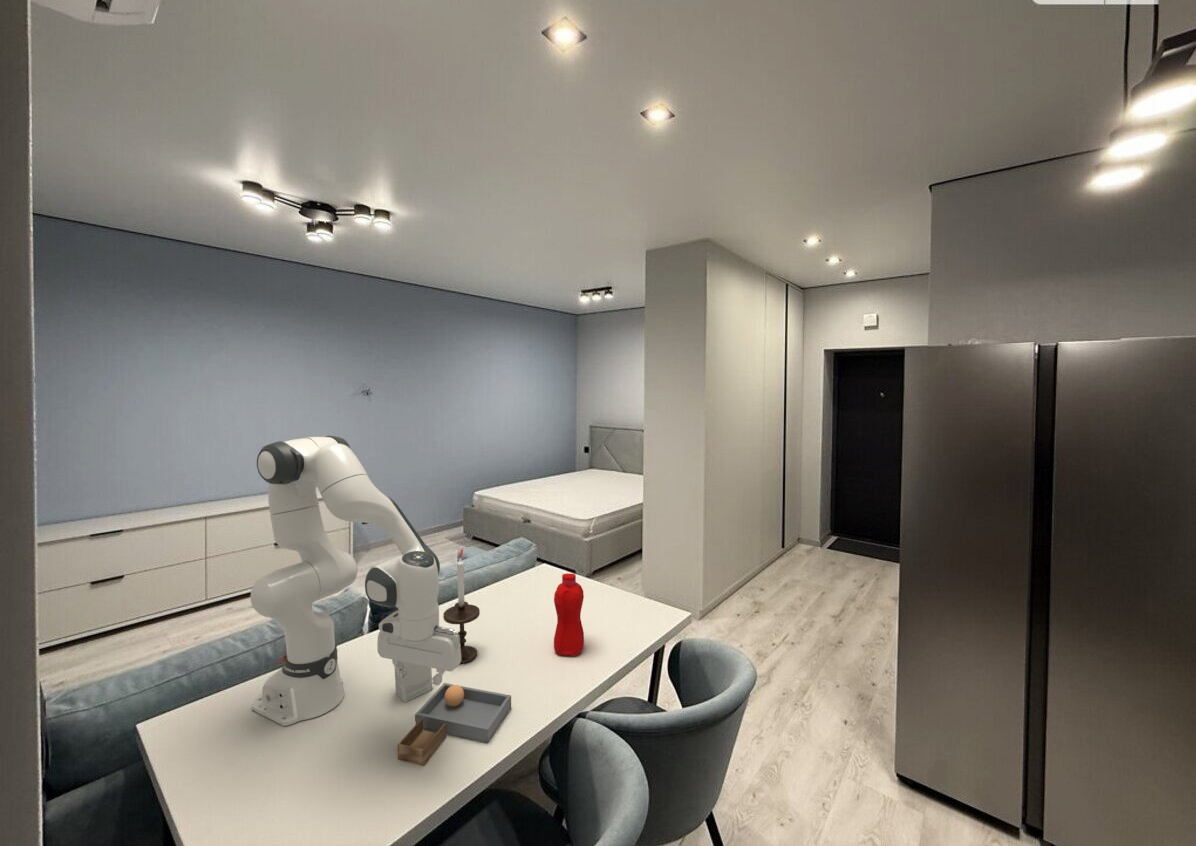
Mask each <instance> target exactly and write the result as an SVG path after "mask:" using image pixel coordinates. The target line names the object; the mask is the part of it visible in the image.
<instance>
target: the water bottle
mask: <svg viewBox="0 0 1196 846" xmlns="http://www.w3.org/2000/svg"><path fill="white" fill-rule="evenodd" d="M576 577H577V576H576V574H575V573H567V572H566V573H563V574H562V575H561V579H562V580H561V581H562V582H561V583H560V584H558V585H557V587H556V590H555V591H554V596H553V597H554V598H553V602H554V603H553V604H554V608H555V612H556V616H557V617H556V619H557V622H556V623H557V624H556V628H555V631H554V637H553V649H554V652H555V654H557V655H558V656H572V657H576V656H577V655H580V654H581V653H582V652H583V649H584V645H585V644H584V643H585V636H584V633H585V632H584V629H583V624H582V620H581V612H582V609H583V602H584V597H585V595H584V590H583V589H584V588H583V587H582V585H581V584H580V583H578V582H576V581H577V579H576Z"/></svg>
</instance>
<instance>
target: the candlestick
mask: <svg viewBox="0 0 1196 846" xmlns="http://www.w3.org/2000/svg"><path fill="white" fill-rule="evenodd" d="M463 550H464V549H463V547H461V549H460V551H459V552H460V553H459V555H458V557H459V560H458V561H457V597H458V598H457V601H458V602H456V603H454V606H451V607H449V608H447V609H445V610H444V611H443V617H442V618H443V621H444V622H446V623H448V624H450V625H459V631H457V634H458V635H459V637H460V649H461V662H460V664H459V665H458V666H462V665H466V664H470V663H472V662H474V661H475V660H476V659H477V658H478V649H477V648H476V647H474V646H471V645H466V643H467V638H465V637H466V636H467V633H468V632H467V631H466V630H465V624H468V623H472V622H474V621H475V620H477V619H478V618H479V616H480V614H481V613H480V608H479V607H478V606H477V605H474V604H469V603H468V602H467V601H466V600H465V574H464V573H465V565H464V564H465V563H464V561H463V559H462V556H463Z"/></svg>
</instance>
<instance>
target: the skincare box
mask: <svg viewBox="0 0 1196 846" xmlns="http://www.w3.org/2000/svg"><path fill="white" fill-rule="evenodd" d="M403 665H404V666H405V667H407V674H406V676H404V677H403V678H402V677H398V676H397V670H396V668H395V667H394V683H395V684H394V685H395V693H396V694H397V696H399V697H400V699H401V700H402V701H403V703H407V702H409V701H411V700H414V699H416V698H417V697H419V696H421V695H423V694H425V693H428V692H430V691H432V690H433V683H432V682H433V681H432V678H433V674H432V671H433V670H432V668H431V667H426V666H421V665H416V664H411V663H407V662H403Z"/></svg>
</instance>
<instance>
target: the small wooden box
mask: <svg viewBox="0 0 1196 846" xmlns="http://www.w3.org/2000/svg"><path fill="white" fill-rule="evenodd" d="M446 738H447V734H446V724H445V723H444V724H443V726H442V727H441V728H440V729H439V731H438V732H433V731H428V730H424V729H423V719H421V720H420V721H419V722H418V723H417V724H416V725H414V726H412V729H410V731H409V732H408V733H407V734H406V735H405V736H404V737H403V738H402V740H400V742H399V743H398V744H397V760H399V761H403V762H406V763H410V764H411V763H412V764H415V765H418V766H419V765H420V766H423V767H424V766H425V765H426V764H427V763H428V761H429V760H430V759H431V758H432V756H433V755H434V754H435V752H436V751H437V750H438V749H439V748H440V746H441V745H442V744H443V742H444V741H445V740H446Z"/></svg>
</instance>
